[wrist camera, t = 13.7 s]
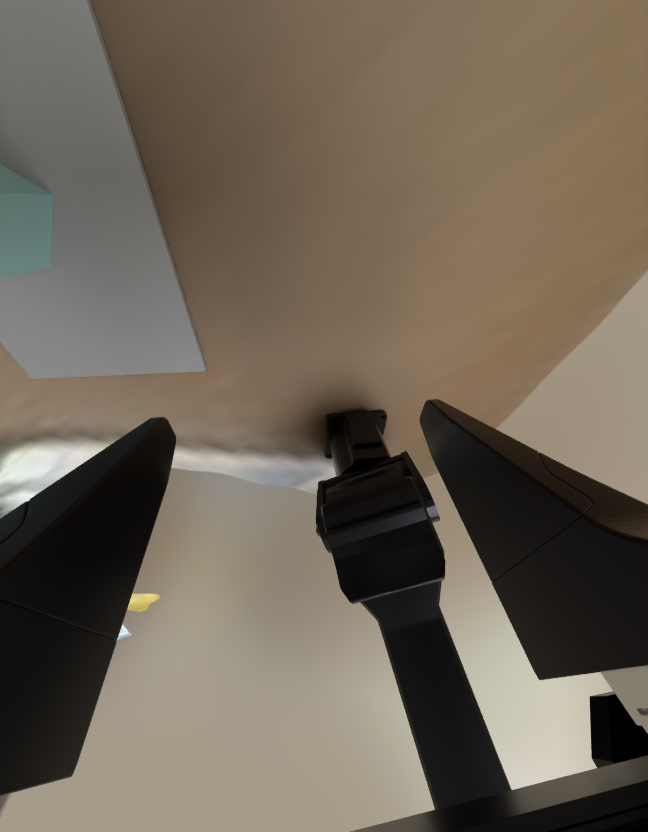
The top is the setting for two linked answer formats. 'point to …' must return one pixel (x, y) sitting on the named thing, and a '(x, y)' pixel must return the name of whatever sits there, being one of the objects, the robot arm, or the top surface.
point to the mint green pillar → (23, 225)
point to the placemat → (84, 209)
